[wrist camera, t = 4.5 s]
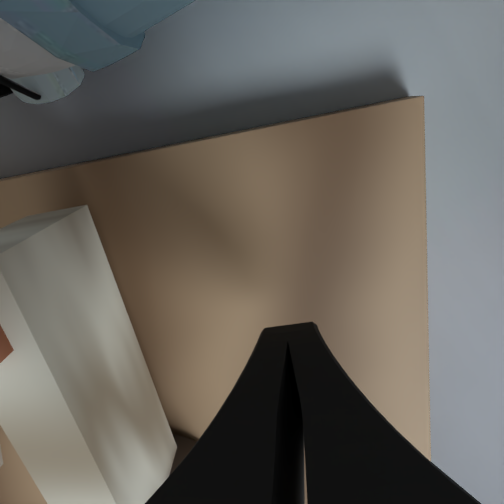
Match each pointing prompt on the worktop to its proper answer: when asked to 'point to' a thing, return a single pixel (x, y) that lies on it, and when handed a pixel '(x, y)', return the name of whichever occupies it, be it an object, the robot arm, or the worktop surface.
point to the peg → (76, 369)
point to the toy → (69, 41)
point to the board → (260, 257)
